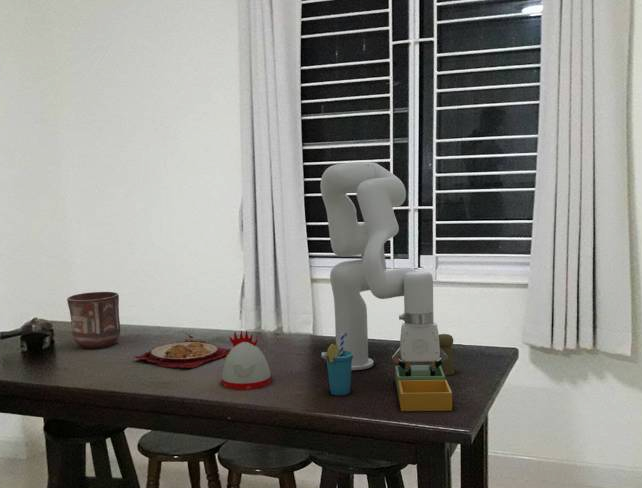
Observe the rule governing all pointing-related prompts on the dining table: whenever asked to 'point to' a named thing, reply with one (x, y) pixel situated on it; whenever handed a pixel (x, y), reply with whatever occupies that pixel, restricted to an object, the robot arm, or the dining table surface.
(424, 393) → the ochre bin
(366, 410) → the dining table surface
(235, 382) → the kitchen timer
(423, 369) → the green block
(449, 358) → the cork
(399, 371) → the green bin
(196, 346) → the plate with food
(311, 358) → the dining table surface
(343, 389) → the cup
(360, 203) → the robot arm
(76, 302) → the pottery
